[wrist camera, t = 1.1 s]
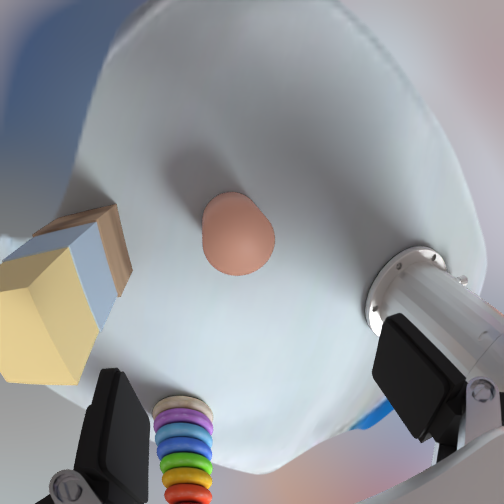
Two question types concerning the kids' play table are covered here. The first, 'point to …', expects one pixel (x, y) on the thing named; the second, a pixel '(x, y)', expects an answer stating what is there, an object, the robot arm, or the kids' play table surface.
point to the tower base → (109, 236)
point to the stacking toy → (184, 448)
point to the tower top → (44, 320)
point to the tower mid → (80, 264)
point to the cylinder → (236, 234)
